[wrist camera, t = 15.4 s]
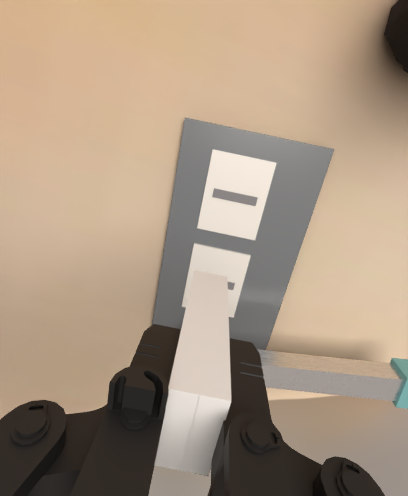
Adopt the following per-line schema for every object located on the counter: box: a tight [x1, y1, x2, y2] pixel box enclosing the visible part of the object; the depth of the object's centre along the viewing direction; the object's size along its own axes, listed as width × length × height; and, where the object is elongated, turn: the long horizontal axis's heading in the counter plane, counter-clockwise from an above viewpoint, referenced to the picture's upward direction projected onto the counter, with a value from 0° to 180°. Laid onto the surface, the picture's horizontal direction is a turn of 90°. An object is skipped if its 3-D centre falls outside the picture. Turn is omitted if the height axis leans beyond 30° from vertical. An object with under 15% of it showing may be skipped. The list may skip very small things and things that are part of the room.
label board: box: [152, 118, 334, 350], centre depth 33 cm, size 16×27×6 cm, turn 169°
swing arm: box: [257, 349, 408, 408], centre depth 32 cm, size 26×4×3 cm, turn 86°
